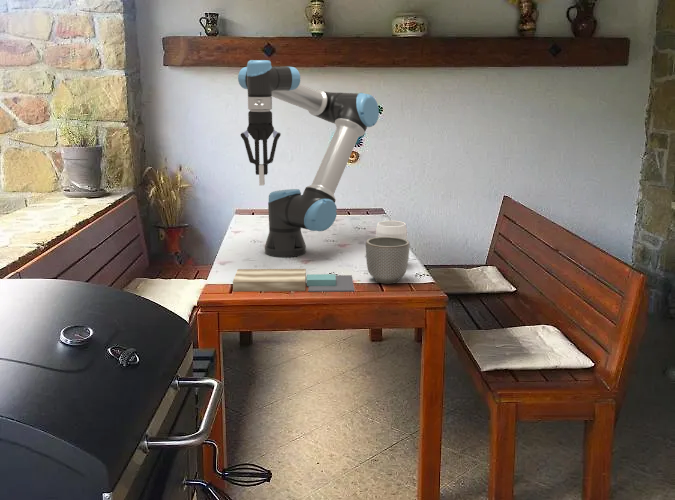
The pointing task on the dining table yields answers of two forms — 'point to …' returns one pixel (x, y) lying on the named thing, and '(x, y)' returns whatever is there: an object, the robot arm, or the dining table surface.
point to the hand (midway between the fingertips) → (262, 184)
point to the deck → (270, 280)
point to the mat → (342, 285)
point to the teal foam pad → (321, 279)
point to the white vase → (391, 229)
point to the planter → (387, 258)
